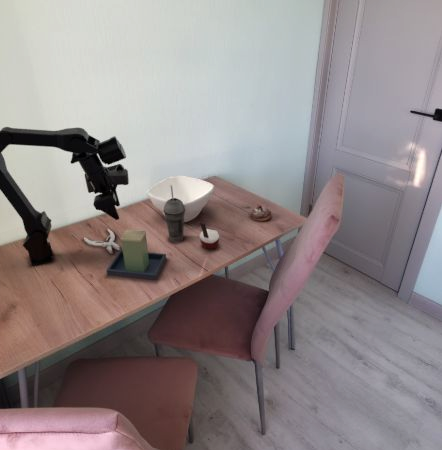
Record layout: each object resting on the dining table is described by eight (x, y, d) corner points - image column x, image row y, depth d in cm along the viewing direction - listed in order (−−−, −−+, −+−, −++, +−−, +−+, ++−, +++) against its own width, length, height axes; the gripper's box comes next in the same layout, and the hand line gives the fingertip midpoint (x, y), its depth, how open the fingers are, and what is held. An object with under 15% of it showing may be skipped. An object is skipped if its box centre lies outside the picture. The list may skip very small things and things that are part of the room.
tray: (156, 281, 121) (155, 275, 120) (107, 276, 123) (106, 270, 122) (166, 260, 130) (165, 253, 129) (121, 255, 133) (120, 249, 131)
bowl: (222, 211, 159) (221, 184, 152) (188, 236, 143) (187, 207, 137) (177, 198, 169) (175, 172, 163) (141, 220, 153) (138, 192, 147)
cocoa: (212, 238, 141) (212, 208, 135) (225, 245, 138) (225, 214, 131) (192, 249, 136) (190, 218, 129) (204, 256, 132) (204, 225, 126)
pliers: (108, 226, 146) (128, 243, 136) (109, 230, 147) (129, 247, 137) (82, 235, 141) (101, 254, 131) (83, 239, 141) (102, 258, 132)
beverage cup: (170, 246, 137) (166, 193, 127) (163, 236, 143) (158, 185, 132) (190, 241, 140) (187, 188, 129) (182, 231, 146) (178, 180, 135)
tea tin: (144, 272, 124) (140, 239, 118) (125, 270, 125) (120, 238, 118) (149, 263, 128) (145, 230, 122) (131, 261, 129) (126, 229, 123)
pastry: (246, 216, 155) (247, 204, 153) (260, 210, 160) (260, 198, 157) (262, 223, 150) (262, 212, 148) (275, 217, 155) (276, 205, 152)
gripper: (119, 171, 112) (142, 217, 120) (120, 149, 127) (141, 190, 136) (81, 186, 112) (108, 230, 120) (87, 162, 127) (110, 203, 136)
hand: (118, 212), depth 128 cm, fingers open, 9 cm apart
